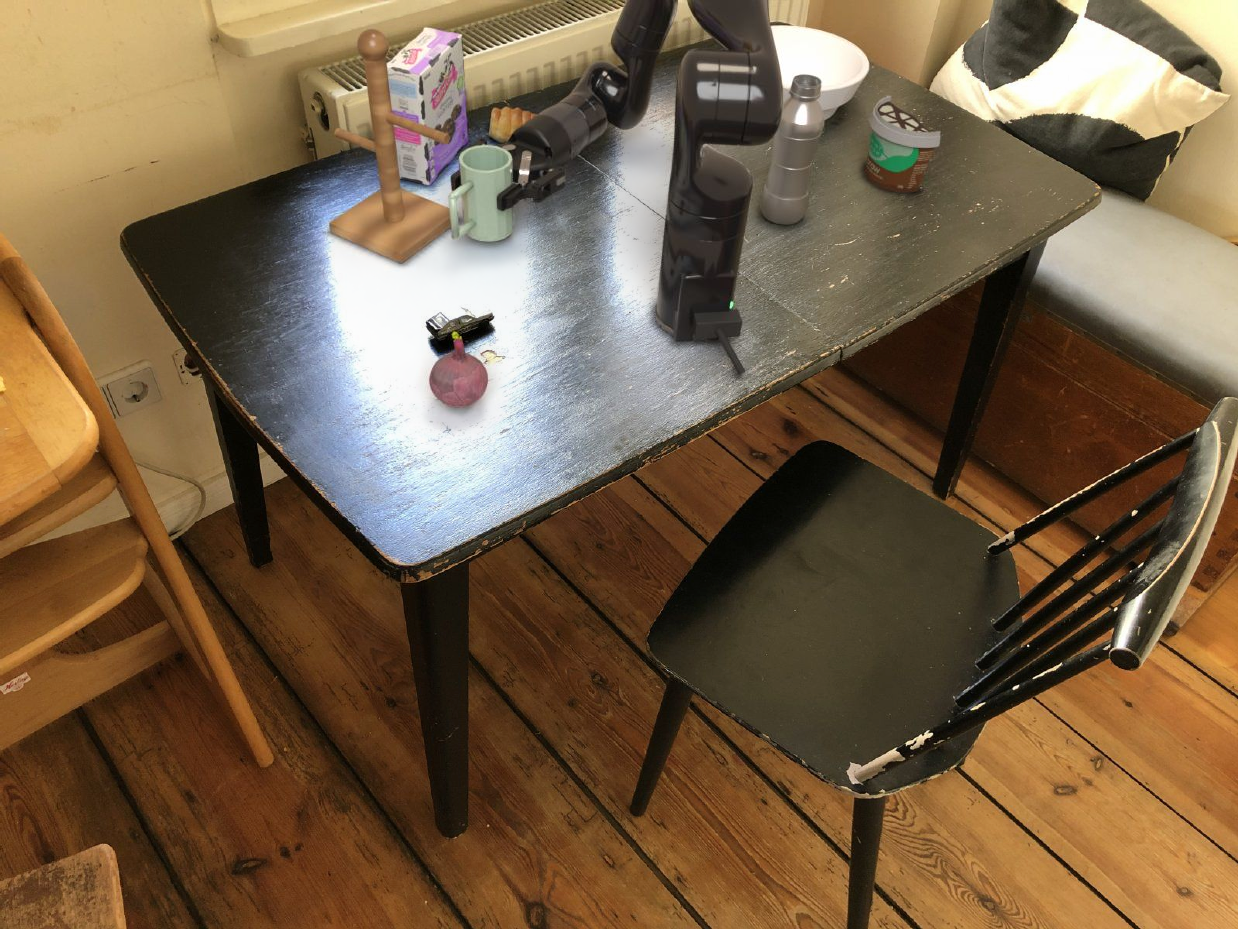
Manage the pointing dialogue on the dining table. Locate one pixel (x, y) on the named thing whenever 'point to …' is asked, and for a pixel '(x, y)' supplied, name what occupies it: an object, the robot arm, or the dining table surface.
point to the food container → (898, 148)
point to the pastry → (507, 122)
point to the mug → (482, 194)
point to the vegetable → (458, 377)
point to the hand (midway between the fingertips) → (476, 194)
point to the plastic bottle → (793, 153)
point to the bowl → (820, 63)
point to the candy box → (429, 102)
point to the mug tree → (389, 173)
